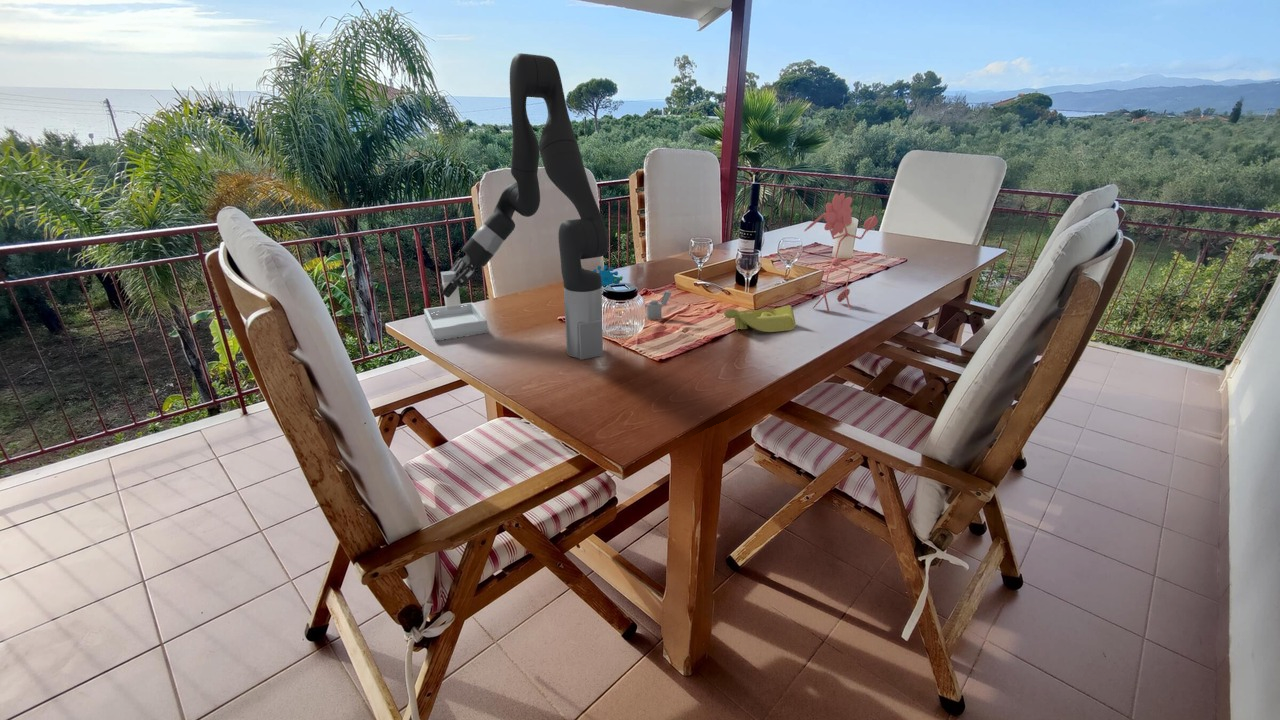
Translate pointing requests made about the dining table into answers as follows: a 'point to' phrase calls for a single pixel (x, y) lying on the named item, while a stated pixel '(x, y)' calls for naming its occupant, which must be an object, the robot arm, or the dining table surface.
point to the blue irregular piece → (608, 276)
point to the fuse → (454, 299)
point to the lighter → (657, 306)
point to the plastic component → (764, 319)
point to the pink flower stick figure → (836, 222)
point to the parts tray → (455, 322)
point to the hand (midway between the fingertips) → (443, 293)
